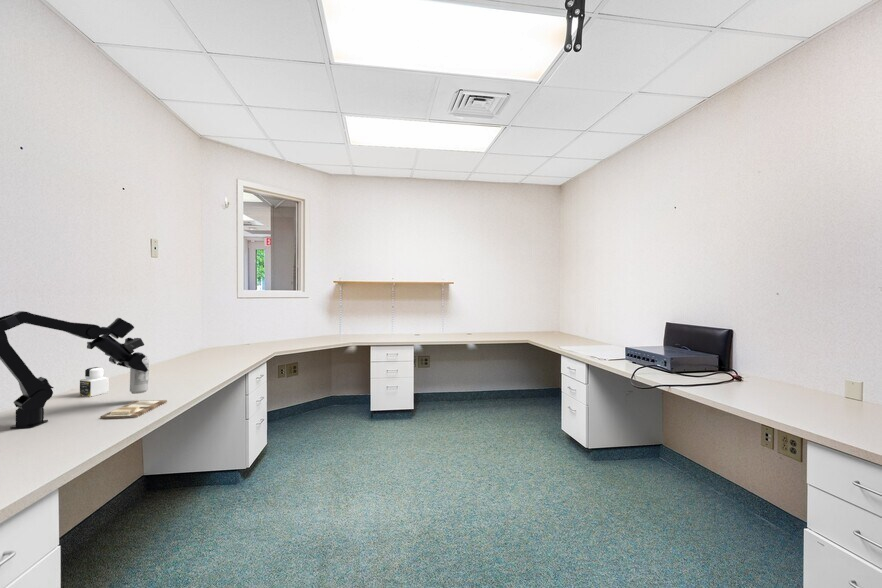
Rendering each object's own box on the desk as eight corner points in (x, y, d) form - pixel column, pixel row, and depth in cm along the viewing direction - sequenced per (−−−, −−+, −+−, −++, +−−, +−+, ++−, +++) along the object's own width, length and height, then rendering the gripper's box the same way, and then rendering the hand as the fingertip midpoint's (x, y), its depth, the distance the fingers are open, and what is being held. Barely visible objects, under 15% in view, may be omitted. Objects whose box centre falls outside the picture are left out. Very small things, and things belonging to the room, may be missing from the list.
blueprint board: (135, 418, 135) (135, 411, 135) (99, 419, 133) (99, 413, 133) (167, 402, 154) (167, 396, 154) (135, 403, 152) (135, 397, 152)
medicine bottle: (79, 395, 162) (79, 368, 162) (98, 391, 169) (98, 365, 169) (90, 397, 160) (90, 369, 160) (108, 392, 167) (109, 366, 167)
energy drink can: (145, 389, 158) (146, 355, 158) (150, 391, 155) (151, 356, 155) (127, 392, 153) (128, 357, 154) (132, 394, 150) (133, 358, 150)
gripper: (140, 333, 146) (170, 357, 156) (119, 330, 155) (148, 353, 165) (114, 355, 139) (148, 378, 149) (94, 351, 148) (127, 373, 158)
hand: (143, 370), depth 155 cm, fingers closed on energy drink can, 6 cm apart
